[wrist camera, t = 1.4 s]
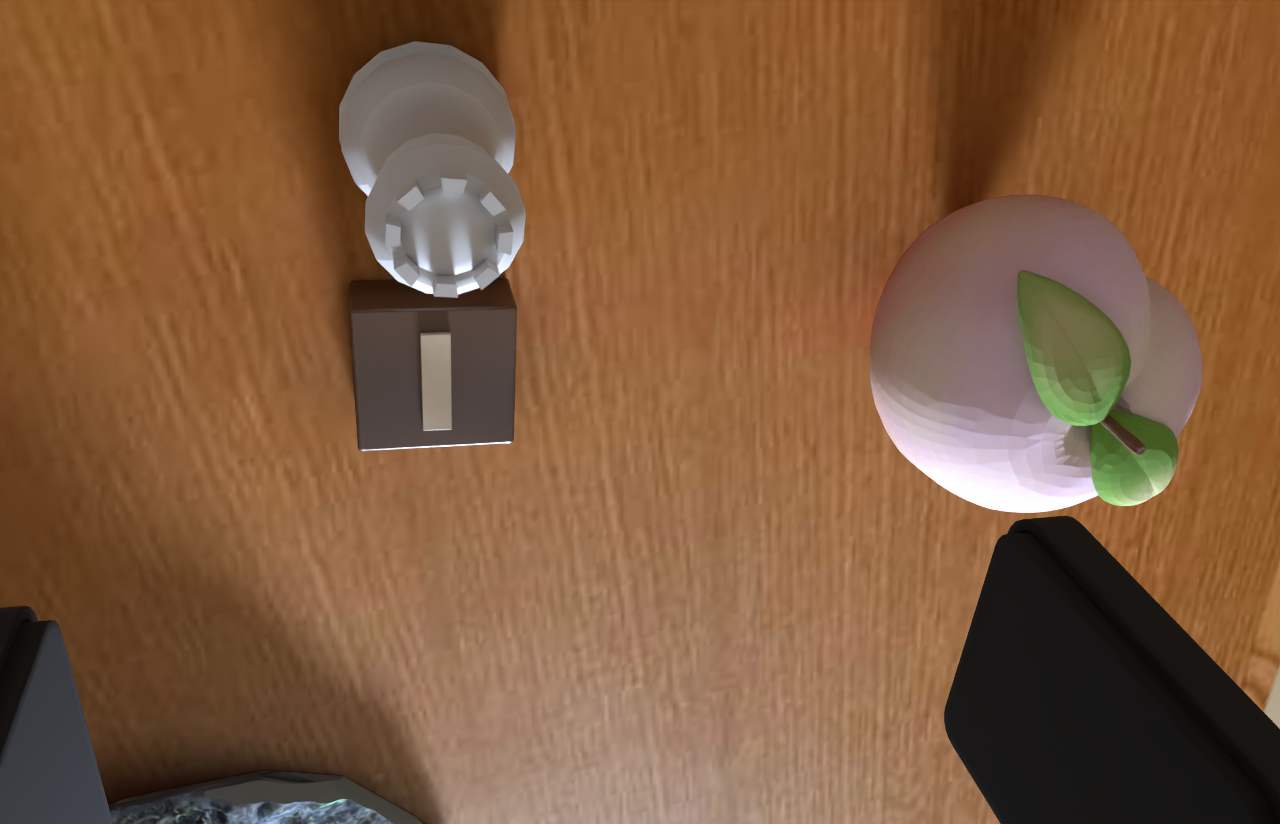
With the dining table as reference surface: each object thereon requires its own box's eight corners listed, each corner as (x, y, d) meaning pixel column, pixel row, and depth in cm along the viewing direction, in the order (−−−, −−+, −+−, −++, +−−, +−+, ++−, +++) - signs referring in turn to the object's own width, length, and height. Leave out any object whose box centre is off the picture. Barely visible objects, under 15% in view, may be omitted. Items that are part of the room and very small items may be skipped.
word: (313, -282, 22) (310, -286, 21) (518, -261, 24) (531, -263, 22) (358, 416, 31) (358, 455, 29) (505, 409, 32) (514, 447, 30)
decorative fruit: (753, 302, 32) (892, 487, 24) (949, 95, 30) (1176, 218, 22) (928, 449, 37) (1095, 644, 29) (1108, 277, 35) (1344, 435, 27)
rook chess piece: (397, 236, 29) (411, 377, 22) (302, 90, 26) (283, 198, 20) (541, 158, 28) (598, 277, 22) (458, 3, 26) (494, 83, 19)
